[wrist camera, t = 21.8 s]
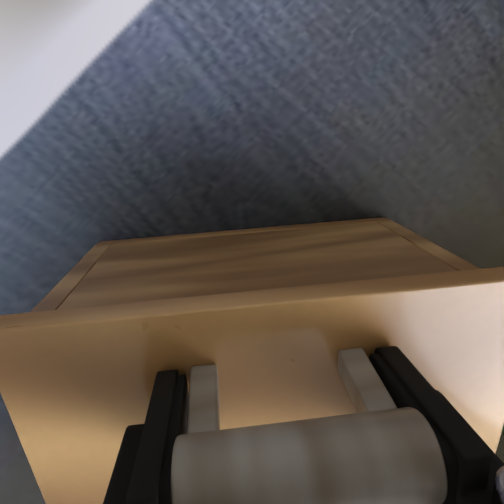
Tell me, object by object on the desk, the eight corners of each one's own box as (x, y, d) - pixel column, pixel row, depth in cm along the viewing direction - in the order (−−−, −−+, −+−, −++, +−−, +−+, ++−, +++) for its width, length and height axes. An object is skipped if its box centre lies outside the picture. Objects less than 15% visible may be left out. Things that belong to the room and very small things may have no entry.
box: (98, 240, 19) (24, 316, 11) (386, 216, 20) (488, 271, 12) (146, 479, 24) (116, 638, 16) (373, 450, 25) (440, 587, 18)
